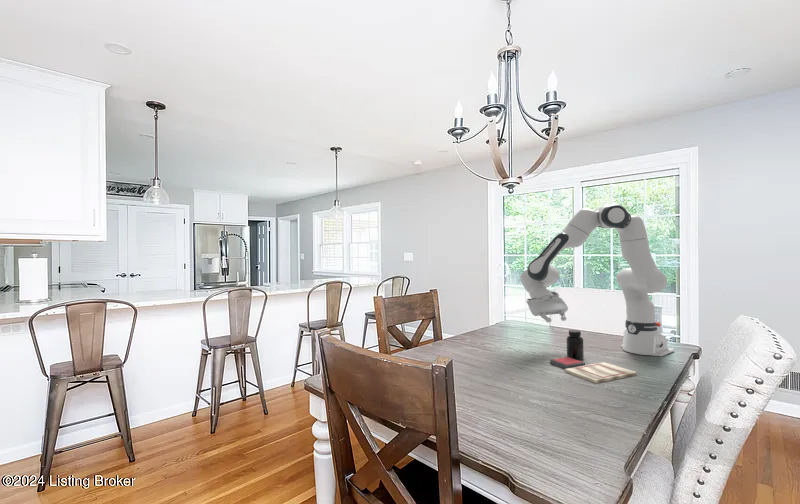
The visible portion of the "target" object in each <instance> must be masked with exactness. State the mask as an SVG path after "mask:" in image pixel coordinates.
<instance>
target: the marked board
mask: <svg viewBox="0 0 800 504" xmlns="http://www.w3.org/2000/svg"><path fill="white" fill-rule="evenodd" d="M564 373H567V374H570V375H573V376H574V377H575V376H576V377H577V378H580V379H584V380H586V381H589V382H591V383H594V384H598V383H604V382H608V381H609V382H610V381H613V380H619V379H625V378H628V377H633V376H637V375H638V372H637V371H634V370H631V369H629V368H628V369H627V368H625V367H622V366H618V365H615V364H611V363H608V362H604V361H603V362H598V363H591V364H587V365H586V364H585V366H579V367H574V368H568V369H565V368H564Z"/></svg>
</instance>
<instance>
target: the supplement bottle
mask: <svg viewBox="0 0 800 504" xmlns="http://www.w3.org/2000/svg"><path fill="white" fill-rule="evenodd" d="M584 351H585V347H584V338H583V337H582V334H581V330H578V329H577V330H576V329H570V330H568V336H566V357H570V358H573V359H576V360H579V361H582V360H583V359H584V357H585V356H584V354H585V352H584Z"/></svg>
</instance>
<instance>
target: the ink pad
mask: <svg viewBox="0 0 800 504" xmlns="http://www.w3.org/2000/svg"><path fill="white" fill-rule="evenodd" d="M549 363H550V364H551V365H554V366H556V367H559V368H562V369H564V370H565V369H568V368H574V367H579V366H585V365H586V362H584V361H582V360H576V359H573V358H570V357H567V356H564V357H558V358H553V359H549Z"/></svg>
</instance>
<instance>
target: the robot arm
mask: <svg viewBox="0 0 800 504" xmlns="http://www.w3.org/2000/svg"><path fill="white" fill-rule="evenodd" d="M596 228H602V229H615V230H616V231H617V232H618V235H619V236H618V237H619V243H620V249H621V254H622V258H623V259H624V260H625V261H626V263H627V264H628V266H629V267H627V268H626V267H625V268H623V269H621V270H619V271H618V272H617V274H616V276H615V277H616V279H615V280H616V283H617V284H618V286H619V287H620V289H621V291H622V294H623V297H624V299H625V300H624V301H625V306H626V308H625V309H626V319H625V321H624V322H625V323H624V324H625V330H624V331H623V339H622V344H620V347H621V348H622V350H623V351H624V352H627V353H631V354H636V355H643V356H644V355H645V356H655V357H663V356H666V355H668V354H672V353H674V352H675V349H674V348H671V347H669V346H668V339H667V337H666V336H664V335H663V334H662V333H661V332H660V331H659V330H658V327H659V328H661V326H662V325H661V322H657V321H655V319H656V318H655V312H656V310H655V304H654V303H653V301H652V300H651V299H650V297H649V294H655V293H660V292H663V291H664V290H665V288H667V284H668V278H667V276H666V275H665V274H664V273H663V272H662V271H661V270H660V269H659V268H658V266H657V265H656V263H655V261H654V259H653V256H652V254H651V249H650V244H649V239H648V232H647V229H646V226H645V223H644V220H643V219H642V218H641V217H640V216H637V215H631V214H630V213H629V211H628V210H627V209H626V208H625V207H624V206H623V205H621V204H617V203H612V204H606V205H604V206H602V207H599V208H598V209H596V210H593V209H591V208H587V207H586V208H585V207H584V208H581V209H580V210H579V211H578V212H576V213H575V214H574V215H573V216H572V218H571V219H570V220H569V222H568V223H567V225H566V226H565V227H564V228H563V230H562V231H561V232H560V233H558V234H557V235H555V236H554V238H552V240H551V241H550V242H549V243H548V244H547V246H545V248H544V249H543V250H542V251H541V252H540V254H539V255H538V256H537V257H535V258H534V259H532V261H531V262H529V264H528V266H527V269H525V270H524V271H523V272H522V273H521V274H520V283H521V284H522V286H523V289H525V292H527V294H529V297H530V298H527V299H526V301H525V302H526V304H527V305H528V309H529V310H530V313H531V314H532V315H533V316H534V317H539V316H540V317H541V318H542V319H543V320H544V321H545V322H546V323H551V322H552V319H551V318H550V317H548V316H551V315H559V316H560V320H561V321H563V322H564V321H567V317H566V312H568V310H569V307H568V305H567V303H566V302H565V300H564V299H562V298H561V297H560V294H559V292H556V291H552V290H550V289H547V288H549V287H551V286H553V285H554V284H556V283H557V282H558V281H559V279H560V272H559V269H558V268H556V267H554V266H553V265H551V263H552V262H553V261H554V260H555V258H556V257H557V256H558V255H559V254H560V252H562V251H563V250H564V249H569V248H571V249H572V248H578V247H581V246H582V245H583V244H584V243H585V242H586V241H587V240H588V238H589V237H590V236H591V233H592V232H593V231H594V230H595V229H596Z"/></svg>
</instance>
